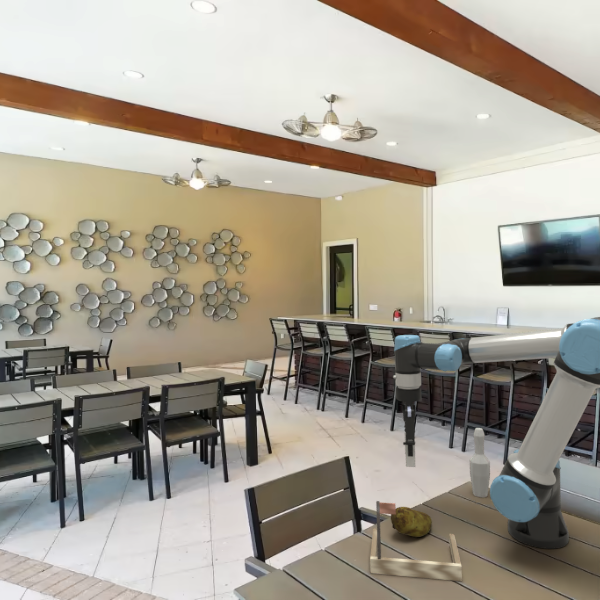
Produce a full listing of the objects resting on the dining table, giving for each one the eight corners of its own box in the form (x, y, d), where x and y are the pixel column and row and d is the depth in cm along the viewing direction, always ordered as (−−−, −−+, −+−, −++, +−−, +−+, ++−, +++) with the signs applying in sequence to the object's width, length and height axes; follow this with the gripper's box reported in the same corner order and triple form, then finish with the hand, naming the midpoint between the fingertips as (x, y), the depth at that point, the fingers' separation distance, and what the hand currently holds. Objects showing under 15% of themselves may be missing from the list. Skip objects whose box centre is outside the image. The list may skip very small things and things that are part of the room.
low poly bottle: (470, 497, 157) (469, 431, 157) (470, 489, 163) (468, 425, 163) (491, 499, 155) (489, 432, 155) (489, 491, 161) (488, 426, 161)
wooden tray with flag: (454, 547, 127) (452, 482, 127) (462, 581, 112) (460, 507, 112) (373, 540, 131) (371, 478, 131) (370, 573, 116) (368, 502, 116)
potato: (440, 539, 131) (440, 511, 131) (395, 544, 129) (395, 515, 129) (428, 525, 139) (427, 498, 139) (386, 529, 137) (385, 502, 137)
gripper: (395, 379, 155) (397, 447, 155) (395, 394, 133) (397, 473, 133) (419, 379, 154) (420, 448, 154) (423, 394, 131) (425, 474, 132)
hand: (410, 459), depth 144 cm, fingers open, 10 cm apart
